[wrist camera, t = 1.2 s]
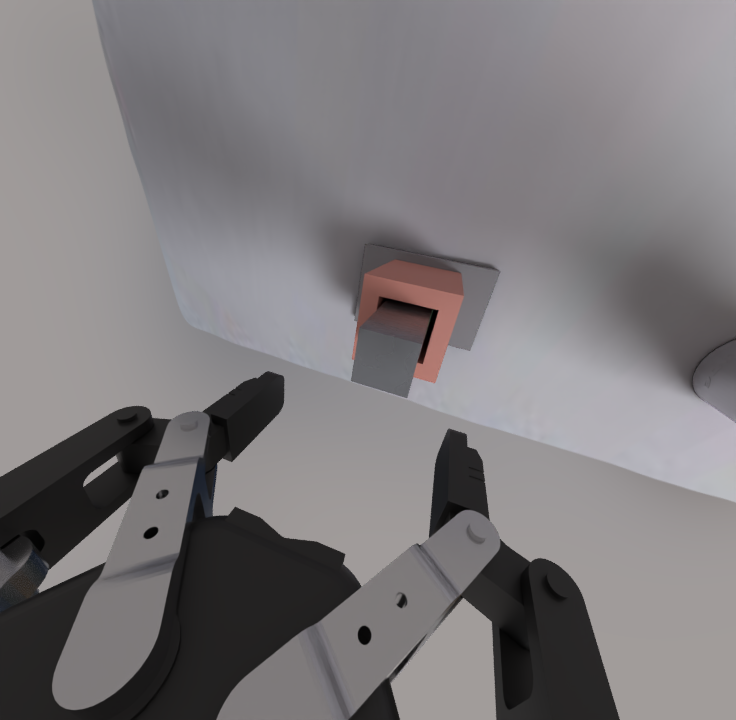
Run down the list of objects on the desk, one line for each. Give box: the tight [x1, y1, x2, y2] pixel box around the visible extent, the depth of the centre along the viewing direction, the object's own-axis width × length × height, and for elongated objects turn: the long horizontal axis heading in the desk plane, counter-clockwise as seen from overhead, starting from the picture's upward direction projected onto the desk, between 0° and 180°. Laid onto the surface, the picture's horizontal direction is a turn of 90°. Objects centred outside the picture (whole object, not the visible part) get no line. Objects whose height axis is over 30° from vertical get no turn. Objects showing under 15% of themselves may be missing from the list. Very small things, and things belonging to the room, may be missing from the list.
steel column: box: [351, 298, 433, 398], centre depth 25 cm, size 4×4×18 cm
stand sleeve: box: [352, 244, 500, 383], centre depth 28 cm, size 16×10×15 cm, turn 80°
